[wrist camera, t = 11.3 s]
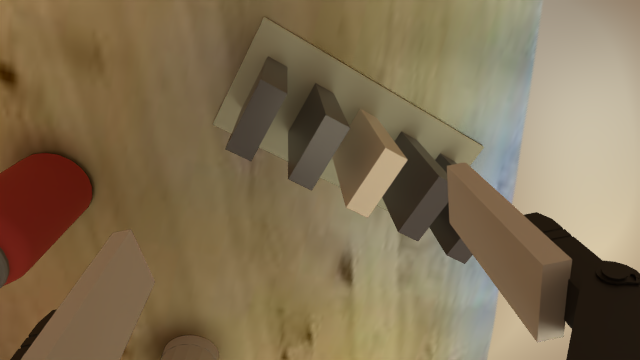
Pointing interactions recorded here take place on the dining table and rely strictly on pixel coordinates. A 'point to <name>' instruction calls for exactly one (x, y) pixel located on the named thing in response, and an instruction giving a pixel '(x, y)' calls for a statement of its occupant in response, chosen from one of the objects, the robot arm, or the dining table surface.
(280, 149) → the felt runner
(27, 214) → the beer can
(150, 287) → the robot arm
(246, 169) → the dining table surface
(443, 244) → the domino
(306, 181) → the domino
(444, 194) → the domino
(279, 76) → the domino
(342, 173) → the cream domino
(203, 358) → the cup
